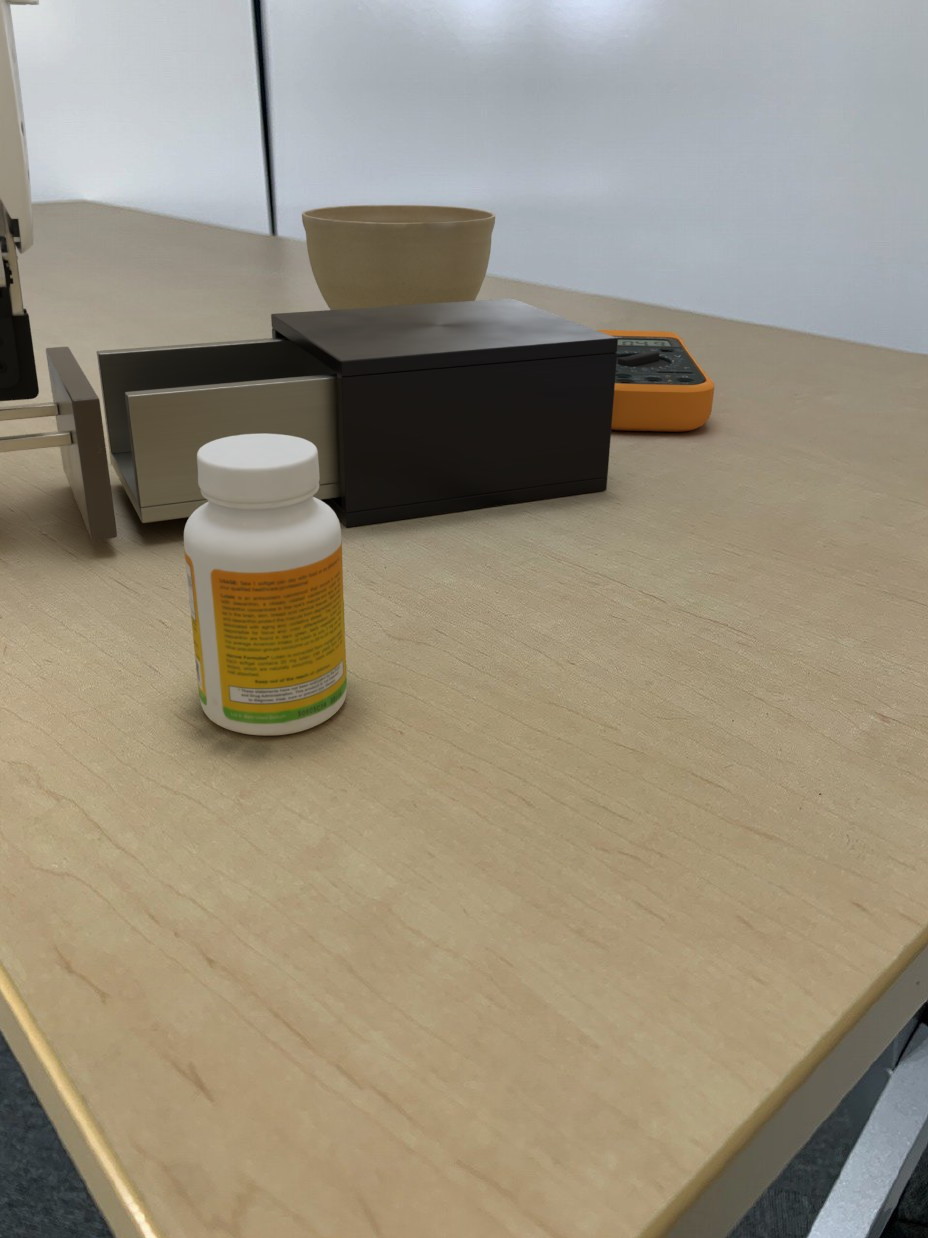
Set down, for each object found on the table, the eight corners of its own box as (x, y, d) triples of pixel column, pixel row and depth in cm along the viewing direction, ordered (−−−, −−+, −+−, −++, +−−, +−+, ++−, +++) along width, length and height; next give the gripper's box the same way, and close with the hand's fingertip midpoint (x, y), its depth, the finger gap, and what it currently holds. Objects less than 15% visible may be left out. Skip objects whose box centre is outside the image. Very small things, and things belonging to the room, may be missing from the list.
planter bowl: (519, 335, 100) (524, 208, 96) (442, 372, 87) (443, 227, 82) (365, 318, 106) (362, 198, 102) (271, 350, 93) (263, 214, 88)
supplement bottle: (377, 700, 41) (372, 449, 37) (263, 758, 37) (243, 487, 33) (284, 653, 44) (269, 417, 40) (170, 702, 41) (141, 448, 36)
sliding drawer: (-40, 559, 50) (-70, 412, 47) (-49, 482, 59) (-74, 355, 56) (379, 502, 58) (376, 373, 55) (313, 442, 67) (308, 329, 64)
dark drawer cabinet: (346, 527, 57) (341, 361, 53) (279, 457, 67) (270, 313, 63) (606, 490, 63) (618, 337, 59) (508, 431, 73) (513, 297, 69)
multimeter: (585, 434, 73) (589, 382, 71) (568, 369, 89) (571, 326, 87) (715, 437, 72) (722, 385, 71) (675, 372, 89) (679, 328, 87)
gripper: (-157, -38, 50) (-83, 364, 58) (-175, -62, 38) (-79, 450, 46) (19, -26, 53) (66, 356, 61) (54, -44, 41) (106, 434, 49)
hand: (3, 395), depth 54 cm, fingers closed
